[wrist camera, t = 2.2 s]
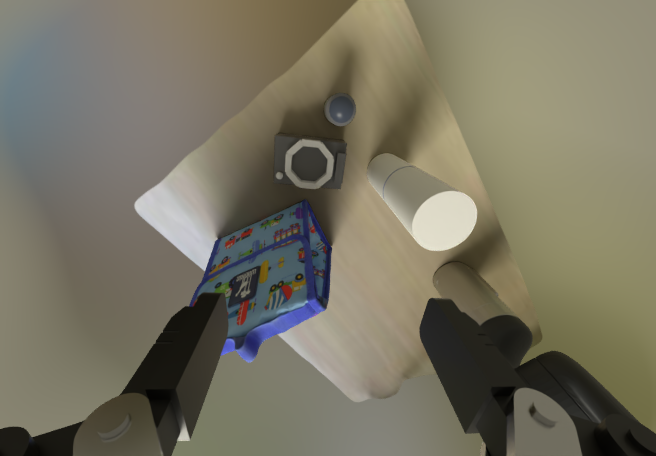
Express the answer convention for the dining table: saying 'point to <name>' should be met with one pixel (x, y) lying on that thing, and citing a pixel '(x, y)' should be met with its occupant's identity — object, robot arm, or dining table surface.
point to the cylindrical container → (423, 202)
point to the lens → (340, 109)
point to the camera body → (309, 161)
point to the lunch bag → (269, 277)
